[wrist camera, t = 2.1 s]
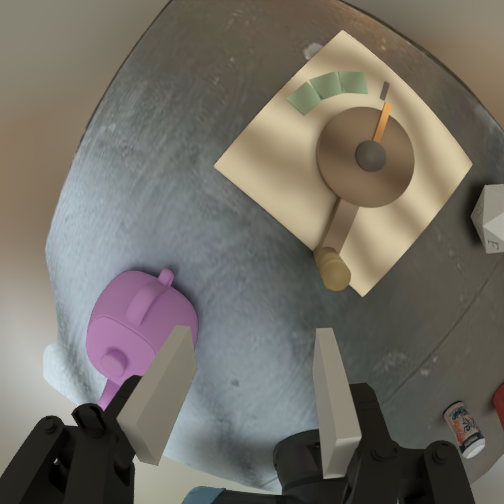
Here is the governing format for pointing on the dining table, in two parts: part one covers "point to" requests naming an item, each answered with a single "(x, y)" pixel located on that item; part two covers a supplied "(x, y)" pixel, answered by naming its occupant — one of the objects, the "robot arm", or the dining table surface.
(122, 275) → the teapot
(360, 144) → the dial
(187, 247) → the dining table surface
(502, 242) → the die
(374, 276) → the board
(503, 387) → the flower pot
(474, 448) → the beer can
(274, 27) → the dining table surface
